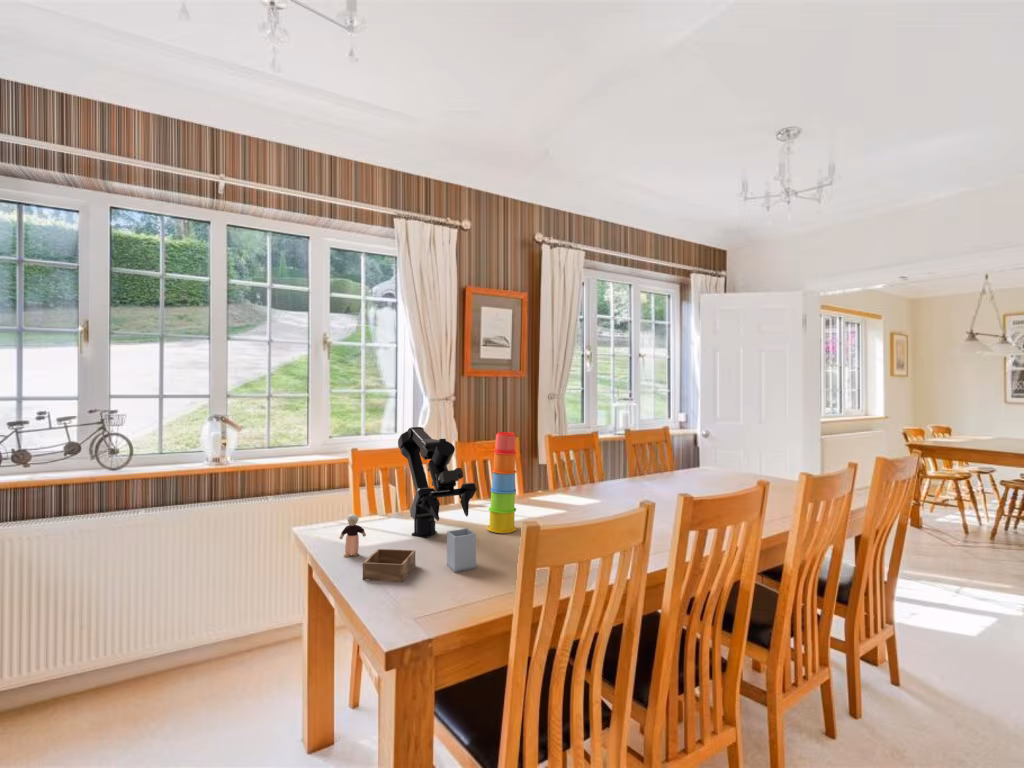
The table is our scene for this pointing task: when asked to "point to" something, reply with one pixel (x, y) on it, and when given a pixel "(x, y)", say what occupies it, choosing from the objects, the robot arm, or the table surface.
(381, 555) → the crate large
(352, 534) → the grandmother figurine
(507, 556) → the table surface
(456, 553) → the grey upright prism
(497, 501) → the stacking cups
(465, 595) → the table surface
